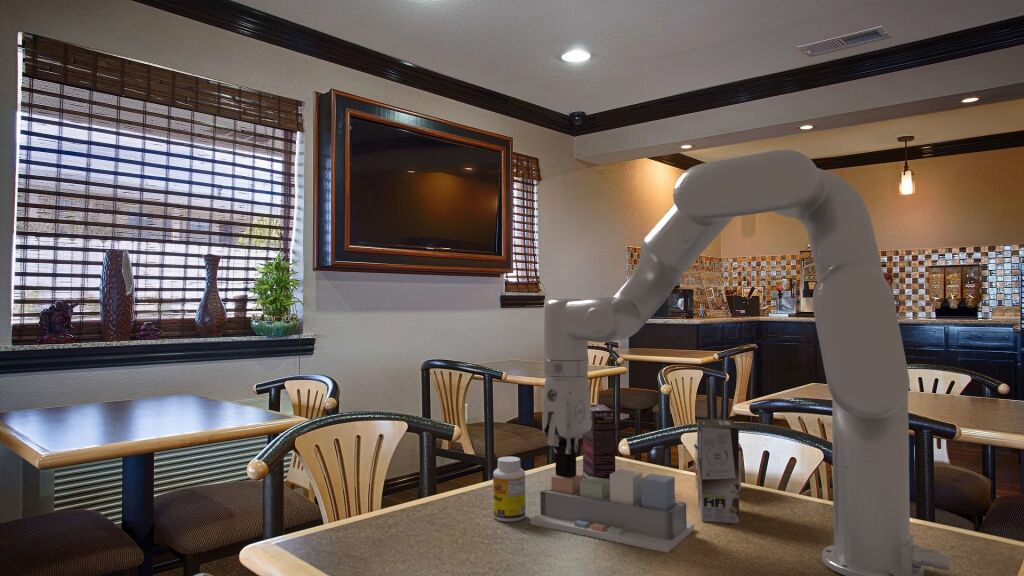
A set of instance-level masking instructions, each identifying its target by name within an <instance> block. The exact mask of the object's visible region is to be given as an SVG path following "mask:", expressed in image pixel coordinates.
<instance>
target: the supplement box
mask: <svg viewBox="0 0 1024 576" xmlns="http://www.w3.org/2000/svg"><path fill="white" fill-rule="evenodd" d="M591 418H592V427H591V429H590V431H589V432H587V433H585V434H583V436H582V475H583V480H585V479H587V478H589V477H596V478H603V479H609V480H610V474H611V473H613V472H615V471H616V410H614V409H612V408H610V407H609V406H606V405H604V404H591Z"/></svg>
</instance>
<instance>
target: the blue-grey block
mask: <svg viewBox="0 0 1024 576" xmlns="http://www.w3.org/2000/svg"><path fill="white" fill-rule="evenodd" d="M675 479H676V478H675V476H672V475H665V474H657V473H649V474H647V475H645V476H644V477H642V479H641V486H642V507H645V508H651V509H657V510H663V511H669V510H670V509H671V508H673V507H674V506H675V501H676V499H675V497H676V495H675V494H676V489H675V483H676V481H675Z"/></svg>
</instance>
